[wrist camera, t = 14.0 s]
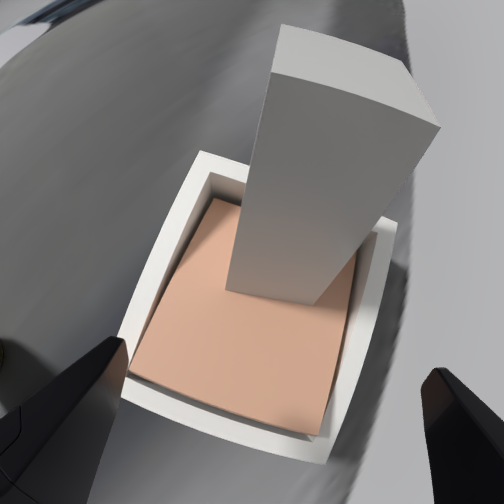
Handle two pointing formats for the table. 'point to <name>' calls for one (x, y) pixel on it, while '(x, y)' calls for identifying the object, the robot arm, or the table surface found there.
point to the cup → (1, 355)
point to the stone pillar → (323, 163)
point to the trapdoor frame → (160, 274)
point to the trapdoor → (243, 337)
